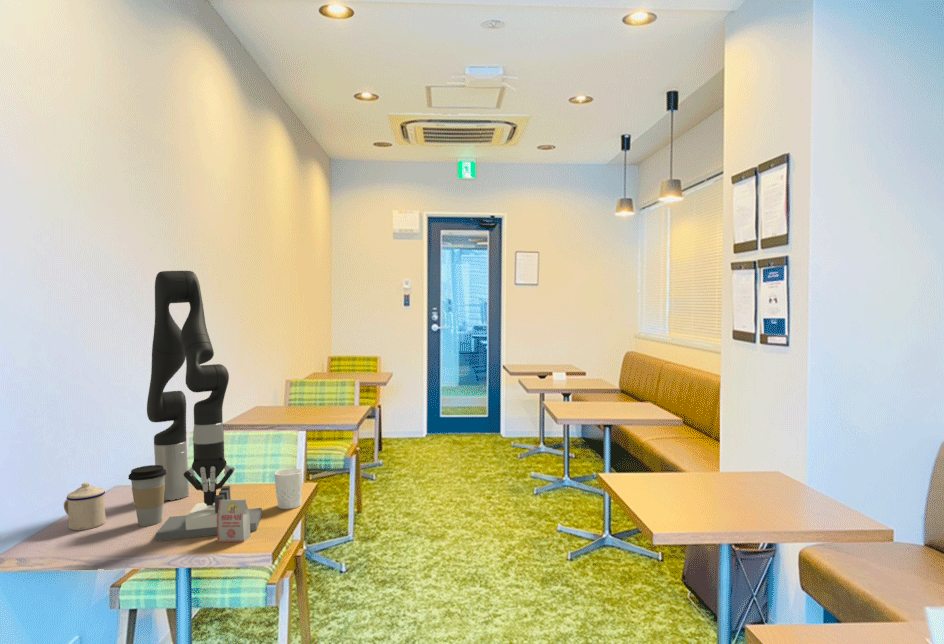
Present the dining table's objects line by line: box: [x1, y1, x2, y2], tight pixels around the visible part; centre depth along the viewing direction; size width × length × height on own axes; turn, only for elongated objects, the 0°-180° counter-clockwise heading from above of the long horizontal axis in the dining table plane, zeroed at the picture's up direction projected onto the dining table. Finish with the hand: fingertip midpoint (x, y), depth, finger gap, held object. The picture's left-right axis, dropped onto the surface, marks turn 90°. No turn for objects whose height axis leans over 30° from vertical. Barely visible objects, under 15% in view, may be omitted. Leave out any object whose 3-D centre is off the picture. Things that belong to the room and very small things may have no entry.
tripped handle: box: [218, 489, 229, 500], centre depth 167 cm, size 2×2×4 cm
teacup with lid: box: [63, 482, 107, 531], centre depth 173 cm, size 12×9×12 cm
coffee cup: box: [127, 464, 167, 527], centre depth 173 cm, size 9×9×15 cm
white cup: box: [274, 468, 303, 510], centre depth 183 cm, size 8×8×10 cm
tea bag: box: [217, 499, 251, 543], centre depth 157 cm, size 4×7×10 cm, turn 85°
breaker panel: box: [155, 485, 263, 542], centre depth 167 cm, size 13×24×9 cm, turn 102°
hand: (210, 504), depth 167 cm, fingers closed
